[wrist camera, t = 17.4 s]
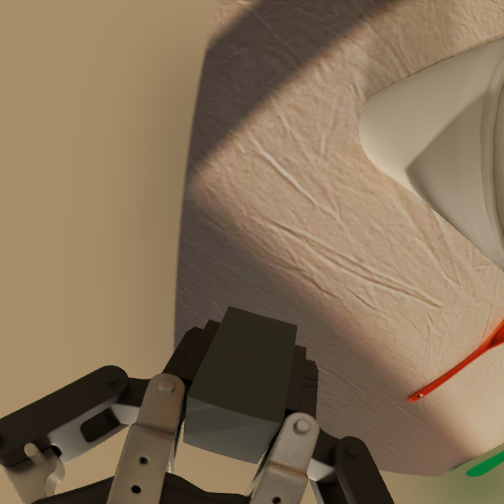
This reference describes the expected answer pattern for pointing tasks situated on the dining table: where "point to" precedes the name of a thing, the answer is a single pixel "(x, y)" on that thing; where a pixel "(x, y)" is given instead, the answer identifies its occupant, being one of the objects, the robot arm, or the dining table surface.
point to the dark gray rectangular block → (241, 386)
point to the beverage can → (447, 141)
